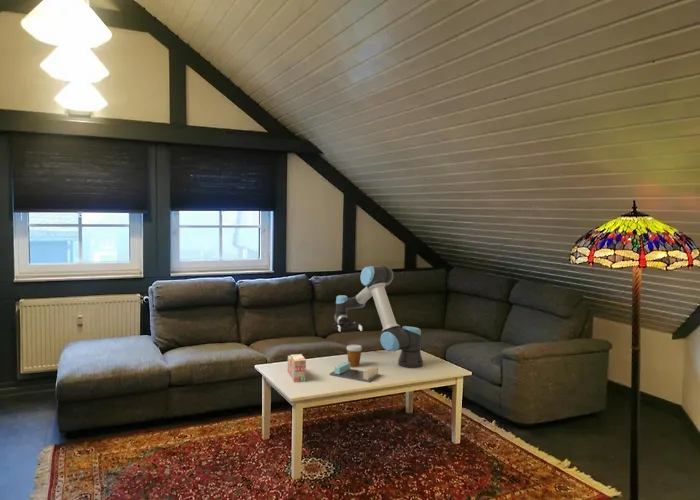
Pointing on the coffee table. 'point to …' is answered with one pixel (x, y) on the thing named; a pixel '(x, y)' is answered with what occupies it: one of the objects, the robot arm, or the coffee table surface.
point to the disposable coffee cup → (354, 355)
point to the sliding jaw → (342, 368)
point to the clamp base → (359, 374)
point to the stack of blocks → (297, 367)
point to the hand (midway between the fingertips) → (350, 329)
